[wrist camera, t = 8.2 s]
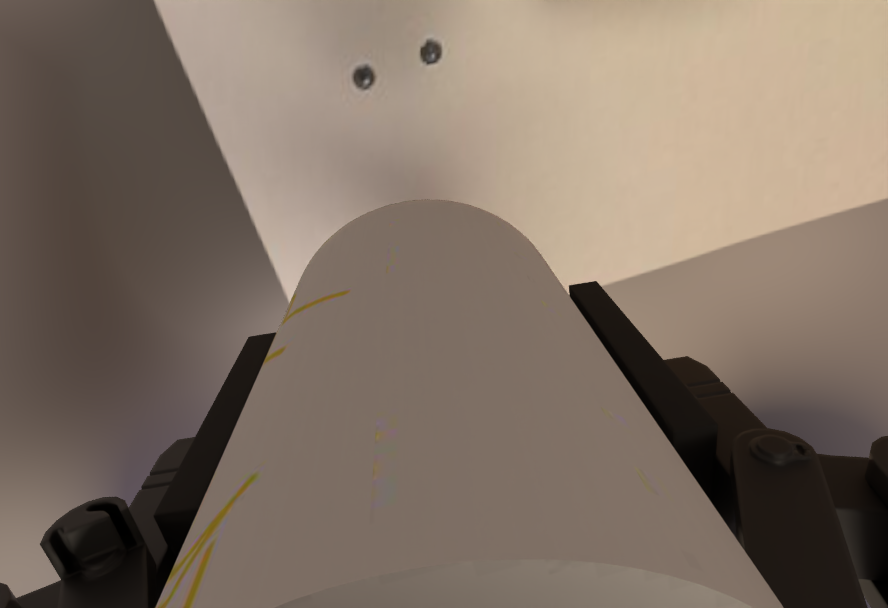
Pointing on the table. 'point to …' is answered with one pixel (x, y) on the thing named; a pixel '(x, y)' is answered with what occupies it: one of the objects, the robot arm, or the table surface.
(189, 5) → the table surface
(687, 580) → the white patterned cylinder
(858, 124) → the table surface
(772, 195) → the table surface
